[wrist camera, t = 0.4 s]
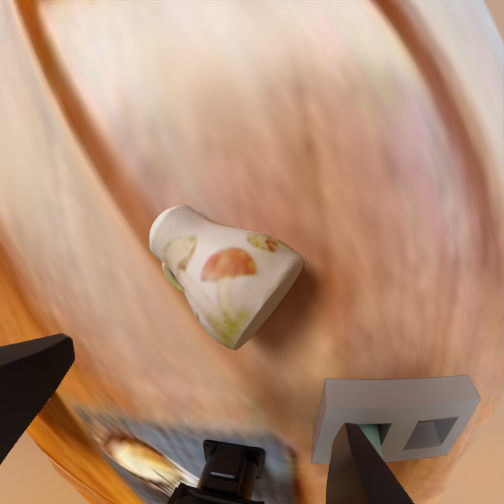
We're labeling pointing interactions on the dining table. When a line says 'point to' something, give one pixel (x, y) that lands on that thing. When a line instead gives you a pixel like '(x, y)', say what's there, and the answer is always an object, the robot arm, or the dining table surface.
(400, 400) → the block
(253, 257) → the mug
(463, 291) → the dining table surface
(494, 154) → the dining table surface
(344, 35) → the dining table surface
